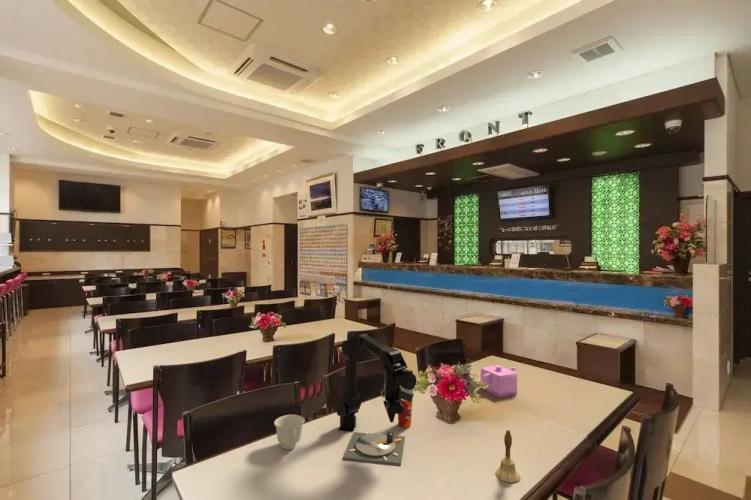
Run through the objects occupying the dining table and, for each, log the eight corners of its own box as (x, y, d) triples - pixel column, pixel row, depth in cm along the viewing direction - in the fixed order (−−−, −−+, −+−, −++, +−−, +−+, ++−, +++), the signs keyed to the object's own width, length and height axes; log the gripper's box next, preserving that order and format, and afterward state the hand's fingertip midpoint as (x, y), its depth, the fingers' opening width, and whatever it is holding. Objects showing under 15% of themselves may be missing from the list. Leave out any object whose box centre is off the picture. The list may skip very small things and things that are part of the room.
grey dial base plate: (343, 459, 143) (343, 454, 143) (353, 433, 162) (353, 429, 162) (400, 465, 139) (400, 460, 139) (404, 438, 159) (404, 434, 159)
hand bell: (491, 469, 137) (492, 426, 137) (513, 468, 138) (514, 425, 138) (501, 483, 129) (501, 437, 129) (524, 482, 130) (525, 436, 130)
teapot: (526, 391, 213) (526, 367, 212) (492, 399, 202) (492, 373, 202) (506, 383, 226) (506, 359, 226) (473, 389, 215) (474, 365, 215)
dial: (361, 459, 141) (361, 448, 141) (351, 438, 156) (351, 429, 156) (401, 453, 146) (401, 442, 146) (387, 433, 161) (388, 424, 161)
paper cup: (412, 429, 166) (412, 398, 166) (394, 428, 168) (395, 396, 168) (413, 421, 174) (414, 391, 174) (397, 420, 176) (397, 390, 176)
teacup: (279, 460, 142) (279, 433, 142) (270, 442, 155) (271, 417, 155) (310, 452, 147) (310, 427, 147) (299, 435, 160) (299, 412, 160)
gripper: (417, 390, 139) (416, 432, 140) (407, 373, 158) (407, 410, 158) (387, 391, 138) (387, 434, 138) (381, 374, 157) (380, 411, 157)
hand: (391, 421), depth 148 cm, fingers closed
